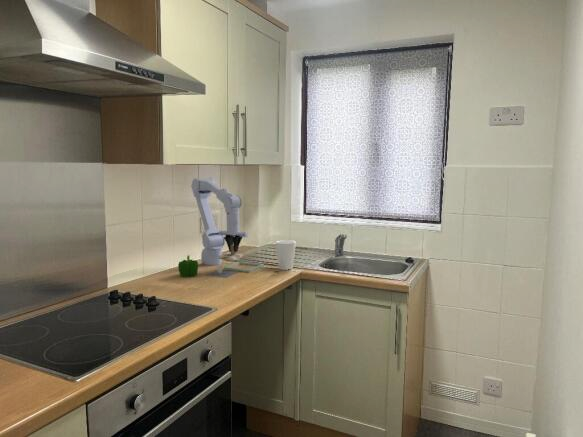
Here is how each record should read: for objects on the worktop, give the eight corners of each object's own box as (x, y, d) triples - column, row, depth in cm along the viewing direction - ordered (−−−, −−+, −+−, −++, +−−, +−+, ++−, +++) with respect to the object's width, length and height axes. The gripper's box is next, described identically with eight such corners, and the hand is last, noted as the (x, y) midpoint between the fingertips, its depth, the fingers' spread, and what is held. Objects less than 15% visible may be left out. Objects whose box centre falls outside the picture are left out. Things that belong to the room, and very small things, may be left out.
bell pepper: (193, 281, 191) (193, 258, 190) (176, 280, 193) (175, 257, 192) (201, 276, 199) (201, 254, 198) (184, 275, 201) (183, 254, 200)
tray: (223, 272, 206) (223, 267, 206) (239, 266, 219) (239, 261, 218) (249, 275, 201) (249, 270, 200) (263, 269, 213) (263, 263, 213)
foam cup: (287, 271, 207) (287, 244, 206) (272, 269, 213) (271, 242, 211) (299, 268, 215) (299, 241, 213) (284, 265, 220) (284, 239, 219)
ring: (218, 258, 202) (217, 247, 202) (228, 255, 210) (227, 244, 209) (233, 260, 199) (232, 249, 198) (242, 256, 206) (242, 245, 205)
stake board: (204, 278, 196) (204, 268, 195) (218, 273, 206) (218, 263, 205) (226, 281, 191) (225, 271, 191) (239, 275, 201) (239, 265, 200)
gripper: (214, 222, 204) (215, 251, 206) (241, 224, 198) (242, 254, 200) (223, 220, 210) (224, 249, 212) (250, 222, 204) (250, 251, 206)
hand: (233, 251), depth 206 cm, fingers closed on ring
